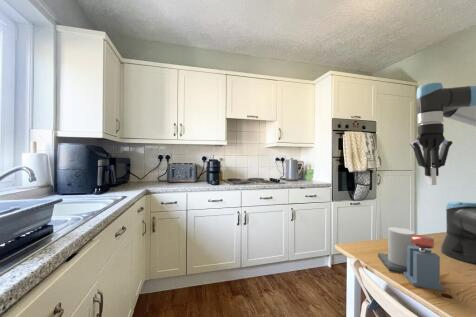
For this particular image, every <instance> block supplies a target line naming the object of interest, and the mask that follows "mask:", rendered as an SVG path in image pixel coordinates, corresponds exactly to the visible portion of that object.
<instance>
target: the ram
mask: <svg viewBox="0 0 476 317" xmlns="http://www.w3.org/2000/svg"><path fill="white" fill-rule="evenodd" d="M434 242H435V240H434V239H433V237H429V236H426V235H421V234H415V235H412V244H413V245H415V246H416V247H420V252H425V248H429V249H430V250H432V249H434V248H435V246H434V245H435V243H434Z"/></svg>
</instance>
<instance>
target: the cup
mask: <svg viewBox="0 0 476 317" xmlns="http://www.w3.org/2000/svg"><path fill="white" fill-rule="evenodd" d="M387 229H388V231H387V232H388V233H387V240H388V243H387V248H388V253H387V254H388V259H389V261H391V262H392V263H395V264H397V265H401V266H406V267H407V246H415V245H413V244H412V235H416V233H415V231H413V230H411V229H408V228H404V227H397V226H395V227H392V226H390V227H388V228H387Z"/></svg>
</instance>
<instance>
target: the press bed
mask: <svg viewBox="0 0 476 317" xmlns="http://www.w3.org/2000/svg"><path fill="white" fill-rule="evenodd" d="M377 257H378V259H379V260H380V261H381V262H382V264H383V265H384V266H385V267H386V269H387V271H389V272H395V273H402V274H403V272H407V267H406V266H401V265H397V264H395V263H392V262H391V261H389V259H388V253H383V252H377Z"/></svg>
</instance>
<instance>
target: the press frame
mask: <svg viewBox="0 0 476 317" xmlns="http://www.w3.org/2000/svg"><path fill="white" fill-rule="evenodd" d="M440 258H441V257H440V255H438V254H437V253H436V252H432V249H429V248H425V252H420V247H418V246H407V272H403V273H402V275H403V276H404V277H405V278H406V279H407V281H408V282H409V283H410V284H411V286H413V287H419V288H424V289H425V288H426V289H431V290H432V289H433V290H440V291H444V290H445V289H444V286H443V285H442V284H441V283H440V281H441V280H440V279H441V278H440V277H441V274H440V272H441V270H440V268H441V261H440V260H441V259H440Z"/></svg>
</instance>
